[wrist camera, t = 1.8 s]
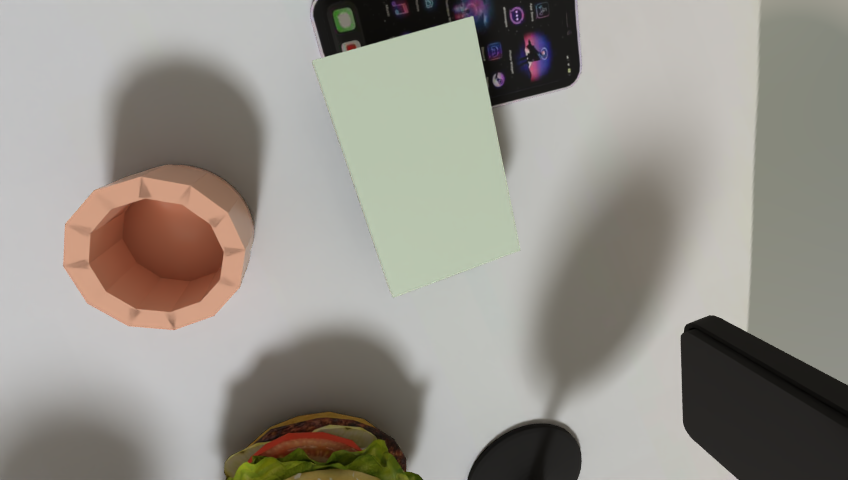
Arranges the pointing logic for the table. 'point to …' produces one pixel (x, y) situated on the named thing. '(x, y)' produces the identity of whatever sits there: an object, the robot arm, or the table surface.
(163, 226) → the ramekin
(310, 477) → the food
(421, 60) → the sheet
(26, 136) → the table surface
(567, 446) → the wine glass
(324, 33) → the smartphone
